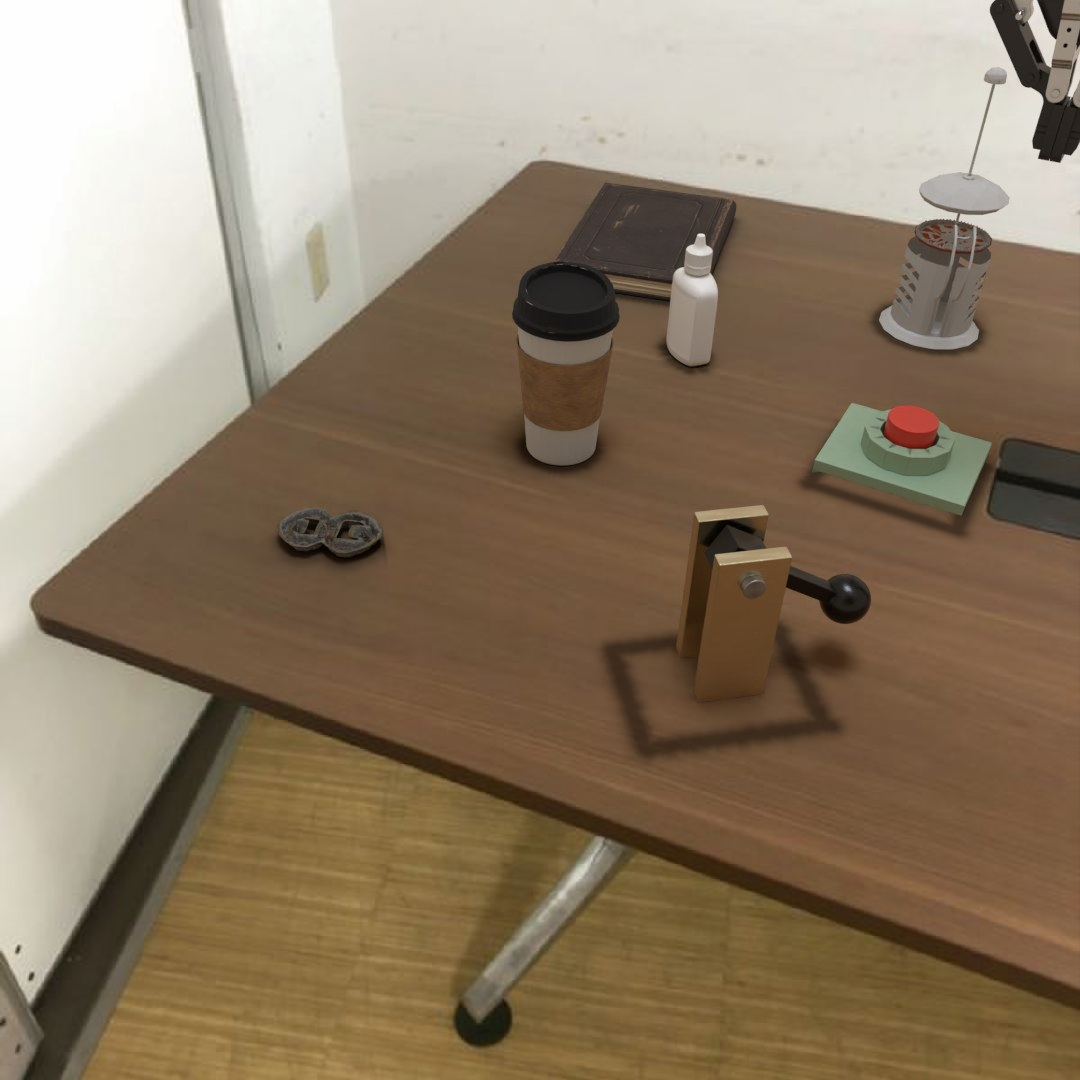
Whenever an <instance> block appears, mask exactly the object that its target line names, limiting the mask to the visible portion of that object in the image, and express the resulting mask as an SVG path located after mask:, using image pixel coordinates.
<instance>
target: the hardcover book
mask: <svg viewBox="0 0 1080 1080" xmlns="http://www.w3.org/2000/svg"><path fill="white" fill-rule="evenodd" d="M736 213H737V202H736V201H735V200H734V199H732V198H724V197H717V196H710V195H702V194H696V193H695V194H694V193H687V192H679V191H672V190H663V189H658V188H657V189H656V188H649V187H641V186H635V185H628V184H627V185H626V184H621V183H620V184H619V183H612V182H611V183H610V182H604V183H603V185H602V186H601V188H600V190H599V191H598V192H597V194H596V196H595V197H594V199H593V200H592V201H591V203H590V205H589V206H588V208H587V209H586V211H585V213H584V214H583V215H582V217H581V219H580V220H579V222H578V223H577V225H576V226H575V228H574V229H573V231H572V232H571V234H570V235H569V237H568V238H567V239H566V242H565V243H564V245H563V246H562V247H561V249H560V251H559V252H558V254H557V255H556V256H555V258H554V260H553V262H557V261H563V262H574V263H581V264H585V265H588V266H591V267H594V268H596V269H597V270H599V271H601V272H602V273H603V274H605V275H606V276H607V277H608V279H609V280H610V281H611V283H612V284H613V287H614V291H615V294H621V295H627V296H634V297H640V298H641V297H642V298H648V299H654V300H660V301H666V302H670V299H671V289H672V281H673V275H674V273H675V271H676V270H677V269H679V268H682V267H684V263H685V254H686V248H687V247H688V246H690V245H694V243H695V241H696V238H697V235H698V234H704V235H705V240H706V246H709V247H710V248H711V249H712V250H713V255H712V263H711V271H710V273H711V275H712V276H713V272H714V270H715V267H716V264H717V261H718V259H719V256H720V254H721V252H722V249H723V247H724V244H725V242H726V239H727V237H728V234H729V231H730V229H731V227H732V224H733V221H734V218H735V216H736Z"/></svg>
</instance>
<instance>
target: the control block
mask: <svg viewBox="0 0 1080 1080" xmlns="http://www.w3.org/2000/svg"><path fill="white" fill-rule="evenodd" d="M890 410H891V409H885V410H879V409H875V408H872V407H868V406H865V405H862V404H858V403H855V402H851V403H850V405H849V406H848V408H847V409H846V411H845V412H844V414H843V416H842V417H841V418H840V419H839V422H837V425H836V426H835V428H834V429H833V431H832V432H831V434H830V435H829V437H828V439H827V440H826V442H825V443H824V445H823V446H822V448H821V449H820V451H819V452H818V454H817V456H816V457H815V458H814V461H813V466H812V471H811V473H823V474H827V475H830V476H833V477H835V478H838V479H839V478H840V479H843V480H845V481H849V482H852V483H855V484H858V485H861V486H865V487H868V488H871V489H875V490H877V491H880V492H884V493H887V494H891V495H893V496H896V497H900V498H903V499H907V500H910V501H912V502H916V503H919V504H921V505H924V506H925V505H926V506H929V507H933V508H935V509H937V510H942V511H945V512H947V513H950V514H951V513H952V514H954V515H958V516H963V514H964V511H965V509H966V507H967V504H968V502H969V500H970V497H971V496H972V493H973V491H974V490H975V489H974V488H975V486H976V484H977V482H978V479H979V477H980V474H981V473H982V470H983V468H984V465H985V463H986V461H987V459H988V456H989V454H990V451H991V448H992V446H993V442H991V441H987V440H984V439H981V438H977V437H974V436H970V435H967V434H963V433H960V432H956V431H953V430H951V429H950V427H949V426H948V425H946V424H945V423H943V422H942V421H941V420H939V427H938V430H937V434H936V437H935V441H934V443H933V445H932V446H931V447H929V448H927V449H908V448H905V447H902V446H898V445H895V444H893V443H892V442H890V441H889V440H887V439H886V438H885V436H884V428H885V424H886V421H887V417H888V413H889V412H890Z"/></svg>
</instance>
